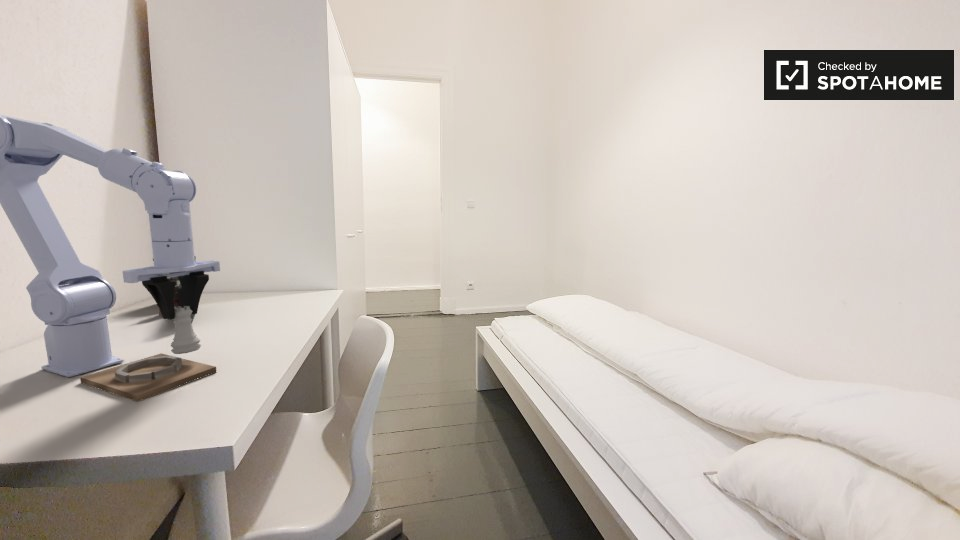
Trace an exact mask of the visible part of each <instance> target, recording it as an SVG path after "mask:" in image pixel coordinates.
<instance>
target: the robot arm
mask: <svg viewBox="0 0 960 540" xmlns="http://www.w3.org/2000/svg"><path fill="white" fill-rule="evenodd" d="M63 156H66V157H69V158H72V159H74V160H77V161H80V162H82V163H84V164H87V165H89V166H91V167H94V168H97V170H98V172H99V175H100V176H101V177H102V178H103V179H105V180H107V181H109V182H111V183H114V184H116V185H119V186H120V187H123V188H126V189H128V190H130V191H132V192H134V193H136V194H137V196H138V198H140V199H141V200H142V201H143V203H144V208H145V209H144V210H145V211H146V212H147V214H148V220H149V228H150V238H151V249H152V257H153V258H154V261H153V265H151V266H145V267H139V268H134V269H126V270H122V277H123V283H127V284H136V283H139V282H141V284H142V286H143V287H144V288H145V290H147V292H149V294H150V296H151V297H152V298H153V300H154V301H155V303H156V305H157V306H158V308H159V309H160V310H159V312H160V311H161V314H162V316H161V317H162V318H163V319H164V320H169V321H171V320H174V319H175V309H174V289H175V284H176V283H175V282H173V281H169V279H167V278H168V277H175V276H178V279H179V281H180V284H181V287H182V291H183V295H184V305H185V306H190V309H191V310H192V311H193V312H192V313H191V314H195V315H197V314H198V310H199V305H200V304H199V303H200V300H201V297H202V294H203V292H204V289H205V287H206V285H207V283H209V280H210V275H209V274H208V273H211V272H221V265H220V263H221V262H220V260H205V261H204V260H203V261H196V262H195V260H196V259H195V257H194V256H195V248H194V247H195V246H194V236H193V227H192V217H191V216H192V215H191V206H190V203H191V202H192V201H193V200H194V199H195V197H196V195H197V185H196V183H195V181H194V179H193V178H192V177H191V176H190V175H188V174H186V173H185V172H184V171H183V170H167V169H166V168H165V167H164V164H163V163H161V162H158V161H150V160H148V159H145V158H144V157H141V156H138V151H135V150H134V149H130V148H125V147H124V148H114V149H113V148H112V149H109V150H107V149H105V148H103V147H101V146H99V145H97V144H96V143H93V142H91V141H89V140H87V139H85V138H83V137H81V136H79V135H77V134H75V133H73V132H71V131H69V130H67V129H66V128H63V127H59V126H56V125H54V124H51V123H48V122H37V121H32V120H27V119H23V118H22V119H21V118H18V117H12V116H7V115H3V114H0V206H1V208H2V210H3V211H4V213H5V214H6V217H7V218H8V220H9V222H10V224H11V226H12V228H13V229H14V231H15V232H16V233H15V234H16V235H17V236H18V239H19V240H20V242H21V243H22V246H23V247H24V249H25V251H26V252H27V254H28V256H29V258H30V260H31V261H32V264H33V266H34V267H35V270H36V271H37V272H38V273H37V275H35V277H34V278H33V279H32V280H31V281H30V282H29V284H28V285H27V286H26V287H25V289H26V291H27V292H28V294H29V297H30V306H31V310H32V312H33V314H34V315H35V316H36V317H37V318H38V319H39V320H40V321H42V322H44V325H45V326H46V328H45V330H44V333H43V337H44V344H45V350H46V356H47V364H45V365H42V366H41V369H43V370H45V371H47V372H51V373H54V374H57V375H60V376H63V377H66V378H71V377H75V376H77V375H78V376H79V375H82V374H86V373H89V372H92V371H95V370H98V369H102V368H106V367H109V366H114V365H116V364H119V363H123V362H124V360H125V359H124V358H121V357H118V356H117V357H116V356H113V352H112V348H111V347H112V345H111V339H110V331H109V324H108V323H109V322H108V318H107V316H108V315H110V314H111V312H110V310H111V309H112V308H113V307H114V306H115V305H116V300H117V293H116V290H115V288H114V286H113V285H112V284H111V283H109V282H108V281H107V280H106V279H105V278H104V277H103V276H102V273H101V272H100V270H98V269H95V268H94V267H92V266H89V265H87V264H85V263H83V262H81V260H80V258H79V256H78V254H77V253H76V251H75V249H74V247H73V246H72V243H71V242H70V240H69V238H68V236H67V234H66V233H65V230H64V229H63V227H62V225H61V223H60V221H59V219H58V218H57V216H56V214H55V212H54V210H53V208H52V207H51V205H50V202H49V201H48V199H47V197H46V195H45V193H44V191H43V189H42V188H41V186H40V183H39V182H38V180H39V178H40V177H41V176H44V175H46V174H48V172H49V171H50V170H51V169H52V168H53V167H54V166H55V165H56V164H57V162H58V161H59V160H60V159H62V158H63ZM153 258H152V259H153ZM184 271H188V272H184ZM173 272H180V273H173ZM167 273H173V274H167ZM205 273H206V274H205Z"/></svg>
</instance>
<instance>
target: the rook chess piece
mask: <svg viewBox="0 0 960 540" xmlns="http://www.w3.org/2000/svg"><path fill="white" fill-rule="evenodd" d="M174 309H175V319H173V321H172V324H174V337H173V339H172V340H173V341H171V344H170V347H171V350H170V351H171V352H172V353H173V354H174V355H175V354H176V355H181V354H189V353H193V352H195V351H198V350H199V349H200V348H201V347H202V344H200V343H201V339H200V338H199V337H197V334H195V331H194V328H193V325H192V324H193V322H192V323H191V321H192V319H191V317H190V315H191V313H192V312H193V311H192V310H191V309H190V306H184V308H181V306H180V307H178V308H177V309H176V307H175V308H174Z"/></svg>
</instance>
